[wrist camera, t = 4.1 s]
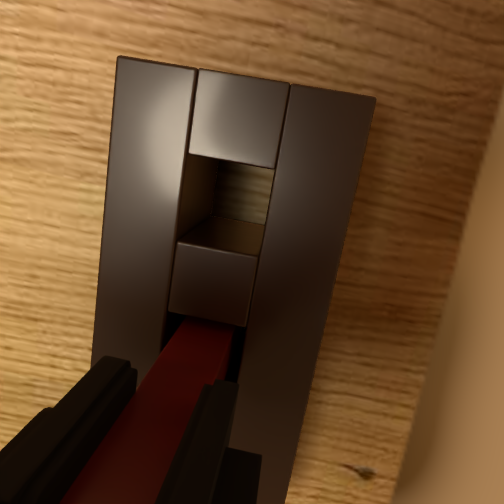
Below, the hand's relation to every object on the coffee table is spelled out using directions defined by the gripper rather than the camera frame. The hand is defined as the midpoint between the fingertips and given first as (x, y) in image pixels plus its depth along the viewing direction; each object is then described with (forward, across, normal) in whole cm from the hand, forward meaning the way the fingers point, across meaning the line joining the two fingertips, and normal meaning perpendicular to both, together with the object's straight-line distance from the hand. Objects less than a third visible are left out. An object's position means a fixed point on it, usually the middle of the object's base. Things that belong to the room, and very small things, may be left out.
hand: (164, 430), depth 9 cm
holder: (+9, 0, 0) cm, 9 cm away
